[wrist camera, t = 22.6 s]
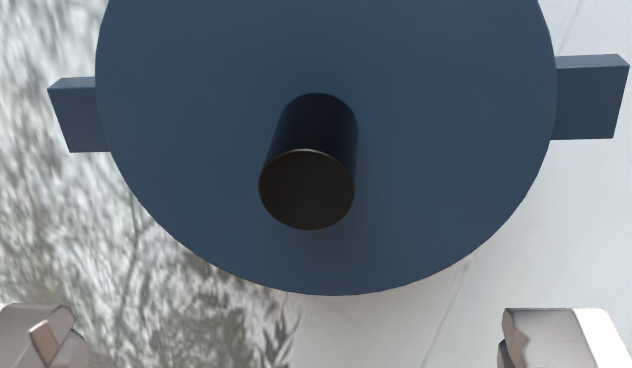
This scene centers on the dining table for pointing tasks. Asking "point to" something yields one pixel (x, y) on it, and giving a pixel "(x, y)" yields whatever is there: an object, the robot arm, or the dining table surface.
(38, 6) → the dining table surface
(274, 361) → the dining table surface
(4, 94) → the dining table surface
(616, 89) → the pot
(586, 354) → the robot arm
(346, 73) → the lid
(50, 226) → the dining table surface
